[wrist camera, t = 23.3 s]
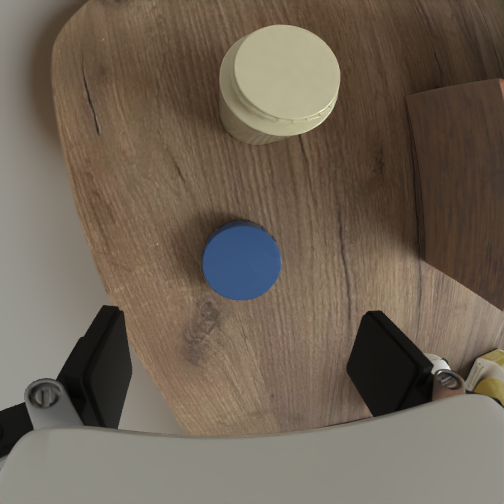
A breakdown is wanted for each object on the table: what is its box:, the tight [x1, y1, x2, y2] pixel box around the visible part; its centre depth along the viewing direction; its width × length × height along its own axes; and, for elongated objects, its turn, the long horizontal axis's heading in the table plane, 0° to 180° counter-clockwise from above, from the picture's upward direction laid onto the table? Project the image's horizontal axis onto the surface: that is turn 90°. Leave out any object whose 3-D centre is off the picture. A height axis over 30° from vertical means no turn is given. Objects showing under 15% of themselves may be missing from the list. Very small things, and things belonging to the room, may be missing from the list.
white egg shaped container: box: [423, 353, 451, 374], centre depth 23 cm, size 10×7×7 cm
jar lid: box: [202, 220, 281, 300], centre depth 20 cm, size 5×5×2 cm
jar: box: [219, 25, 340, 145], centre depth 13 cm, size 5×5×9 cm
